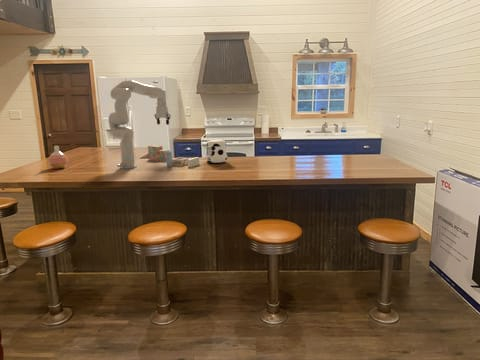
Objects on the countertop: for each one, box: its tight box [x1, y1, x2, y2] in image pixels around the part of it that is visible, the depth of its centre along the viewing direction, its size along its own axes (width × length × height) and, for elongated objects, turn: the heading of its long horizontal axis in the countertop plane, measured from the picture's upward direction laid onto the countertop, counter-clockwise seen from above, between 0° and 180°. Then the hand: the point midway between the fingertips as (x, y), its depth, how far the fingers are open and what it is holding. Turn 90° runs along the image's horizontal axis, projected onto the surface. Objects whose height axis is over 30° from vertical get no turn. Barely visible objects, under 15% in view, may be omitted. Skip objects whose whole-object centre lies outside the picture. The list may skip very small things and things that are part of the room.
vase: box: [47, 145, 69, 170], centre depth 274 cm, size 14×14×18 cm
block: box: [172, 157, 189, 167], centre depth 281 cm, size 10×10×5 cm
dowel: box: [166, 151, 173, 168], centre depth 272 cm, size 4×4×12 cm
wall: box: [187, 156, 200, 168], centre depth 275 cm, size 13×2×6 cm, turn 153°
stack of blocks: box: [147, 144, 171, 162], centre depth 306 cm, size 21×6×12 cm, turn 53°
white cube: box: [205, 139, 228, 164], centre depth 288 cm, size 17×17×18 cm
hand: (163, 124), depth 307 cm, fingers open, 9 cm apart
